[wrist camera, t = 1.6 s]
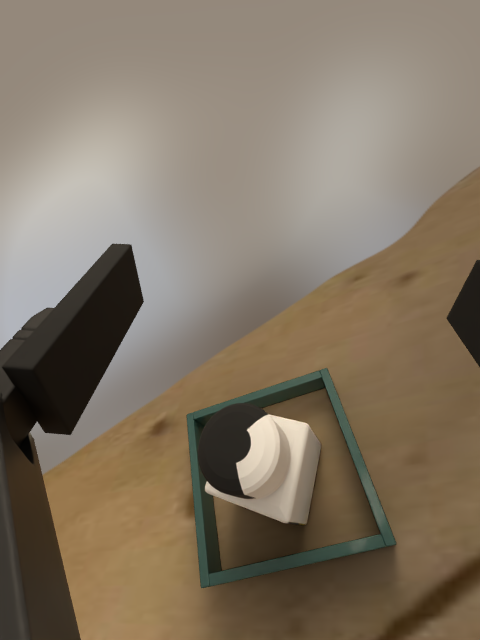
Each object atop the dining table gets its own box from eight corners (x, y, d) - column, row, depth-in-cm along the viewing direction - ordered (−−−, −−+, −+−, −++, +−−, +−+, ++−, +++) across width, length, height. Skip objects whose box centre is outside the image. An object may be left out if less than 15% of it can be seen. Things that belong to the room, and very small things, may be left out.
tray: (330, 378, 34) (326, 367, 32) (395, 543, 25) (397, 544, 23) (197, 421, 37) (186, 414, 34) (214, 584, 28) (200, 588, 26)
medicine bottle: (234, 499, 31) (170, 483, 22) (254, 425, 34) (206, 384, 25) (307, 527, 28) (269, 522, 18) (322, 443, 31) (296, 402, 21)
